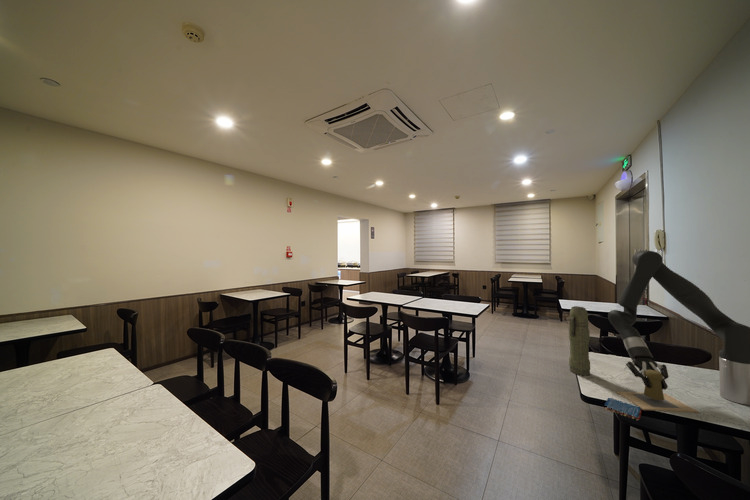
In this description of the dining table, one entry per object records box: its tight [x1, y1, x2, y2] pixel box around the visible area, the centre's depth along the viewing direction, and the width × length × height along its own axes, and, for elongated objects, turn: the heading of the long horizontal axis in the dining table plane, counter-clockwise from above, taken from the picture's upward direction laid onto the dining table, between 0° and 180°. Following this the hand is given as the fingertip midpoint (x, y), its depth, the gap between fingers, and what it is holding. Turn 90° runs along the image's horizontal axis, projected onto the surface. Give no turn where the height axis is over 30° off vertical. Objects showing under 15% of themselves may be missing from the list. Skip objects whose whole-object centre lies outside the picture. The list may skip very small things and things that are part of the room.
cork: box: [643, 370, 664, 400], centre depth 112 cm, size 6×6×11 cm
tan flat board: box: [616, 391, 699, 413], centre depth 112 cm, size 20×13×1 cm, turn 84°
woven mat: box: [603, 397, 642, 421], centre depth 107 cm, size 10×11×2 cm
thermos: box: [568, 305, 591, 377], centre depth 140 cm, size 9×12×35 cm
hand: (657, 387), depth 110 cm, fingers closed on cork, 4 cm apart
